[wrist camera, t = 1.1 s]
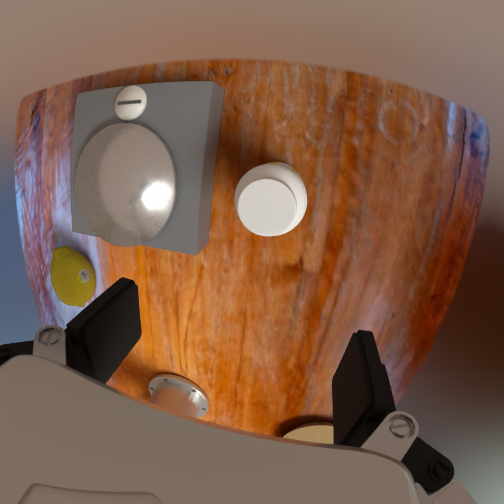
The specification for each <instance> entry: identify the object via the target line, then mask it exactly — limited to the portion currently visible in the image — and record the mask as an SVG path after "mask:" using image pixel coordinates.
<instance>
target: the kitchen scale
mask: <svg viewBox="0 0 504 504" xmlns="http://www.w3.org/2000/svg"><path fill="white" fill-rule="evenodd" d="M224 93H225V90H223V89H222V88H221V87H220V86H219V85H217V84H216V83H215V82H214V81H185V82H162V83H148V84H138V85H128V86H120V87H113V88H106V89H100V90H94V91H88V92H83V93H78V94H77V100H76V107H75V116H74V125H73V137H72V153H71V214H72V231H73V232H76V233H81V234H86V235H92V236H97V237H99V236H98V235H97V234H96V233H95V232H94V231H93V230H92V229H91V228H90V227H89V225H88V224H87V222H86V221H85V219H84V217H83V215H82V213H81V211H80V208H79V205H78V202H77V197H76V191H75V176H76V169H77V165H78V161H79V159H80V156H81V154H82V152H83V150H84V148H85V146H86V145H87V143H88V142H89V141H90V140H91V138H92V137H93V136H94V135H95V134H97V133H98V132H99V131H101V130H102V129H104V128H106V127H108V126H110V125H113V124H118V123H133V124H138V125H142V126H144V127H147V128H148V129H150V130H152V131H153V132H155V133H156V134H157V135H158V136H159V137H160V138H161V139H162V140H163V141H164V142H165V144H166V145H167V147H168V148H169V150H170V152H171V154H172V156H173V159H174V162H175V165H176V170H177V176H178V194H177V200H176V204H175V208H174V211H173V213H172V215H171V217H170V219H169V221H168V223H167V224H166V225H165V227H164V228H163V229H162V230H161V231H160V232H159V233H158V234H157V235H156V236H154V237H153V238H151V239H150V240H148V241H146V242H145V243H142V244H140V245H143V246H149V247H154V248H159V249H165V250H170V251H176V252H181V253H187V254H192V255H197V254H198V253H199V252H200V251H201V250H202V249H203V248H204V247H205V246H206V245H207V244H208V243H209V232H210V220H211V208H212V197H213V187H214V176H215V167H216V157H217V149H218V140H219V131H220V123H221V115H222V108H223V100H224Z"/></svg>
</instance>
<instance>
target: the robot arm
mask: <svg viewBox="0 0 504 504" xmlns="http://www.w3.org/2000/svg"><path fill="white" fill-rule="evenodd" d="M66 326H67V328H66V329H65V330H63V329H62V328H61V327H59V326H56V325H49V326H45V327H43V328H41V329H40V330H39V331H38V332H37V333H36V335H35V338H34V340H33V341H25V342H18V343H10V344H4V345H1V346H0V504H477V503H476V502H475V501H474V499H473V498H472V497H471V495H470V494H469V493H468V491H467V490H466V489H465V487H464V486H463V485H462V484H461V482H460V481H459V480H458V479H457V480H456V481H455V480H454V479H453V476H454V467H453V465H452V463H451V461H450V460H449V459H447V458H446V457H445V456H443V455H442V454H441V453H439V452H438V451H436V450H435V449H434V448H432V447H431V446H430V445H428V444H426V443H425V442H424V441H422V440H421V439H420V438H418V437H417V434H418V432H419V429H418V428H419V427H418V424H417V421H416V420H415V419H414V417H412V416H411V415H410V414H408V413H405V412H402V411H396V408H395V403H394V399H393V395H392V391H391V387H390V383H389V379H388V375H387V371H386V368H385V365H384V364H381V361H380V357H379V353H378V350H377V346H376V343H375V339H374V336H373V333H372V332H371V331H364V330H358V332H357V333H355V332H354V333H353V334H352V336H351V339H350V341H349V343H348V346H347V348H346V350H345V353H344V355H343V357H342V359H341V361H340V364H339V366H338V368H337V370H336V372H335V374H334V376H333V379H332V400H333V442H334V444H326V443H317V442H309V441H301V440H294V439H288V438H281V437H275V436H269V435H264V434H259V433H254V432H249V431H244V430H240V429H235V428H231V427H227V426H223V425H219V424H215V423H211V422H208V421H204V420H201V419H197V418H198V417H201V416H203V415H205V414H206V413H207V410H208V408H209V400H208V398H207V396H206V394H205V393H204V392H203V391H202V390H201V389H200V388H199V387H198V386H197V385H196V384H194V383H192V382H191V381H189V380H187V379H185V378H183V377H180V376H177V375H172V374H160V375H157V376H155V377H154V378H153V379H152V380H151V381H150V383H149V392H150V395H151V397H150V399H149V401H148V402H147V401H144V400H141V399H139V398H136V397H134V396H131V395H129V394H127V393H124V392H122V391H119V390H117V389H115V388H113V387H110V386H108V385H106V382H107V381H108V380H109V378H110V377H111V376H112V374H113V373H114V372H115V370H116V369H117V368H118V366H119V365H120V364H121V362H122V361H123V360H124V358H125V357H126V356H127V355H128V353H129V352H130V351H131V349H132V348H133V347H134V346H135V344H136V343H137V342H138V340H139V339H140V337H141V333H142V331H141V321H140V310H139V297H138V286H137V285H136V284H135V282H134V281H133V280H131V279H127V278H124V277H122V278H120V279H119V280H118V281H116V282H115V283H114V284H113V285H112V286H110V287H109V288H108V289H107V290H106V291H104V292H103V293H102V294H101V295H100V296H99V297H97V298H96V299H95V300H94V301H93V302H92V303H90V304H89V305H88V306H87V307H86V308H85V309H84V310H82V311H81V312H80V313H79V314H78V315H77V316H76V317H74V318H73V319H72V320H71V321H70V322H69V323H68V324H67V325H66Z"/></svg>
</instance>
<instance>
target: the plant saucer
mask: <svg viewBox="0 0 504 504" xmlns="http://www.w3.org/2000/svg"><path fill="white" fill-rule="evenodd" d="M283 438H288V439H294V440H301V441H309V442H317V443H326V444H334V442H333V424H332V423H327V422H312V423H307V424H303V425H301V426H298V427H296V428H294V429H293V430H291V431H290V432H288V433H287V434H286V435H285V436H284V437H283Z"/></svg>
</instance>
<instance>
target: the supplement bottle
mask: <svg viewBox="0 0 504 504" xmlns="http://www.w3.org/2000/svg"><path fill="white" fill-rule="evenodd" d="M234 202H235V208H236V211H237V214H238V216H239V218H240V220H241V221H242V223H243V224H244V226H245V227H246V228H247V229H248V230H250V231H251V232H253V233H255V234H258V235H261V236H276V235H281V234H284V233H287V232H288V231H290V230H292V229H293V228H294V227H296V226H297V225H298V223H299V222H300V221H301V219H302V218H303V216H304V213H305V211H306V207H307V194H306V190H305V186H304V183H303V180H302V178H301V176H300V174H299V173H298V172H297V171H296V170H295V169H294V168H293V167H292V166H290V165H288V164H286V163H282V162H270V163H266V164H263V165H260V166H257V167H255V168H253V169H251V170H249V171H248V172H247V173H246V174H245V175H244V176H243V177H242V178H241V180H240V181H239V183H238V185H237V188H236V191H235V197H234Z"/></svg>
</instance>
